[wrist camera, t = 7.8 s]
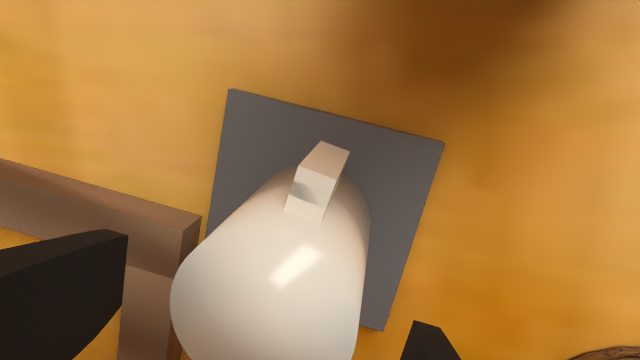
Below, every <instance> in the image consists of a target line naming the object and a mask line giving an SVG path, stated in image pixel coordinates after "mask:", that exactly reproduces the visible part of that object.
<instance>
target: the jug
mask: <svg viewBox="0 0 640 360" xmlns="http://www.w3.org/2000/svg"><path fill="white" fill-rule="evenodd" d="M349 153H350V151H347V150H345V149H342V148H339V147H336V146H334V145H331V144H328V143H326V142H323V141H320V142H319V143H318V145H317V146H316V147H315V148H314V149H313V150H312V151H311V152H310V153H309V154H308V156H307V157H306V158H305V159H304V160H303V161H302V162H301V163H300V164H297V165H292V166H289V167H287V168H284V169H282V170H280V171H278V172H277V173H276V174H274V175H273V176H272V177H271V178H270V179H268V180H267V181H266V182H265V183H264V184H263V185H262V186H261V187H260V188H259V189H258V190H257V191H256V192H255V193H254V194H253V195H251V196H250V197H249V198H248V199H247V200H246V201H245V202H244V203H243V204H242V205H241V206H240V207H239V208H238V209H237V210H236V211H234V212H233V213H232V214H231V215H230V216H229V217H228V218H227V219H226V220H225V221H224V222H223V223H222V224H221V225H220V226H219V227H217V228H216V229H215V230H214V231H213V232H212V233H211V234H210V235H209V236H208V237H207V238H206V239H205V240H204V241H203V242H202V243H201V244H199V245H198V246H197V247H196V248H195V249H194V250H193V251H192V252H191V253H190V254H189V255H188V256H187V257H186V258H185V260H184V261H183V262H182V264H181V265H180V267H179V269H178V271H177V273H176V275H175V277H174V280H173V283H172V287H171V293H170V313H171V319H172V323H173V327H174V330H175V332H176V335H177V338H178V340H179V341H180V343H181V345H182V347H183V349H184V350H185V352H186V353H187V355H188V356H189V357H190V359H191V360H351V358H352V355H353V352H354V350H355V346H356V341H357V335H358V327H359V319H360V311H361V303H362V295H363V286H364V278H365V270H366V262H367V254H368V246H369V238H370V230H371V217H370V211H369V207H368V204H367V201H366V199H365V197H364V195H363V194H362V192H361V191H360V189H359V188H358V186H357V185H356V184H355V183H354V182H353V181H352V180H351V179H350V178H348V177H347V176H346V175H344V174H343V173H342V172H343V169H344V167H345V164H346V161H347V159H348V156H349Z"/></svg>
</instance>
